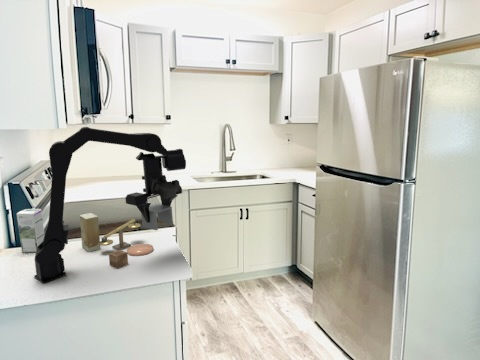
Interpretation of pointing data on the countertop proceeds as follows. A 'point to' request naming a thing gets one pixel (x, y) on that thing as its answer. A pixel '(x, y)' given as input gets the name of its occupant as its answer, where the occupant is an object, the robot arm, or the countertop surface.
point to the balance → (121, 244)
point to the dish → (139, 249)
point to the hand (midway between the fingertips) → (157, 219)
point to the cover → (163, 216)
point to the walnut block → (118, 258)
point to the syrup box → (30, 229)
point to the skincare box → (90, 232)
